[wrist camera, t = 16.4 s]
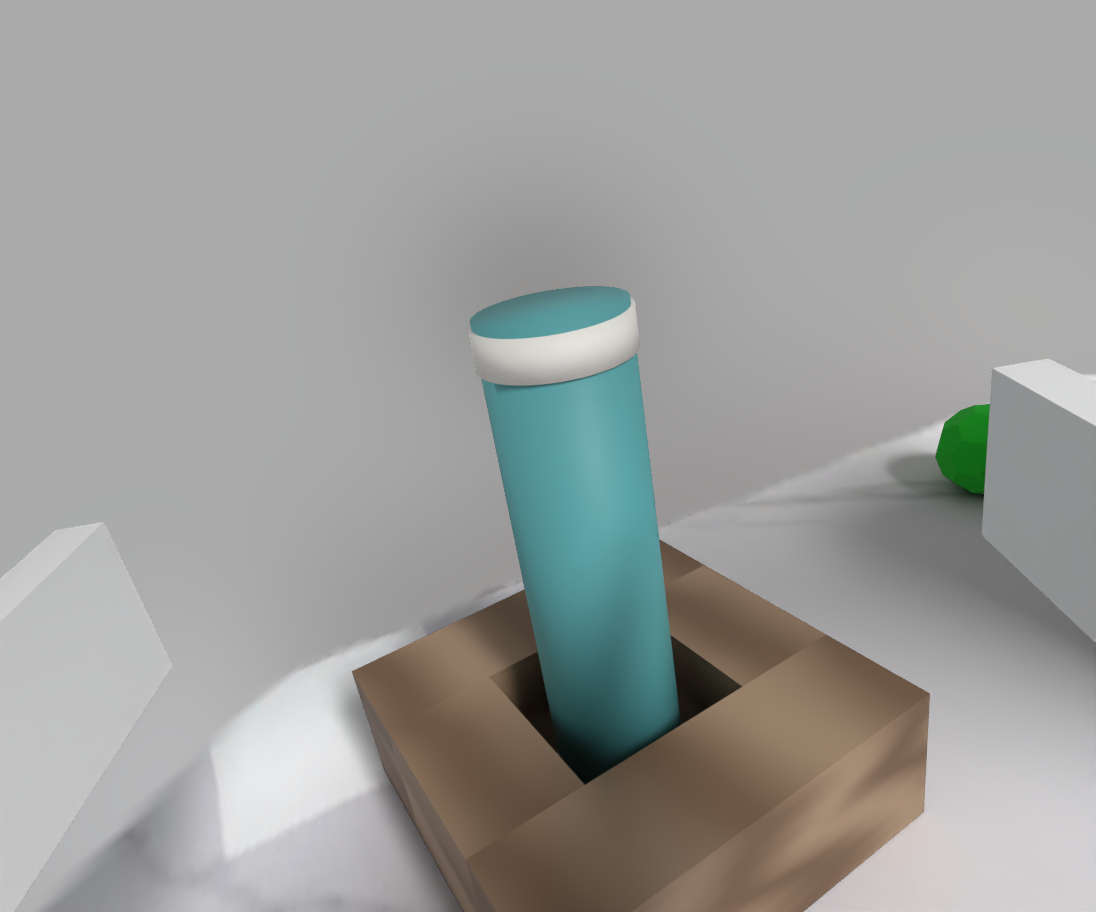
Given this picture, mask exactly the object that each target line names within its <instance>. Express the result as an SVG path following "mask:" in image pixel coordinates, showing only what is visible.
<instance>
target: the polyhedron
mask: <svg viewBox="0 0 1096 912" xmlns="http://www.w3.org/2000/svg"><path fill="white" fill-rule="evenodd" d="M989 412H990V404H986V405H974V406H972V407H969V408H966V409H963V410H960V411H959V412H958V413H956V414H955V415H954V416H953V417H951V418H950V419H949V420H947V421H946V422H945V424H944V427H943V430H942V434H941V437H940V441H939V445H938V448H937V452H936V457H935V458H936V460H937V462H938V465H939V467H940V469H941V471H942V474H943V475H944V476H945V477H947V478H948V479H950V480H951V481H953V482H954V483H956V484H958V485H959V486H961V487H963V488H964V489H966V490H968V491H970V492H971V493H974V494H977V495H979V494H984V489H985V473H986V458H987V443H988V427H989Z"/></svg>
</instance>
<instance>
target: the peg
mask: <svg viewBox="0 0 1096 912" xmlns="http://www.w3.org/2000/svg"><path fill="white" fill-rule="evenodd" d="M468 334H469V339H470V344H471V349H472V354H473V358H474V363H475V368H476V373H477V375H478V376H479V377H480V378H481V379H482V384H483V389H484V393H485V399H486V403H487V408H488V413H489V418H490V423H491V428H492V432H493V437H494V442H495V447H496V452H497V456H498V462H499V466H500V471H501V476H502V481H503V486H504V491H505V495H506V500H507V504H508V509H509V515H510V520H511V524H512V529H513V534H514V539H515V544H516V549H517V553H518V558H519V563H520V568H521V573H522V578H523V583H524V587H525V592H526V597H527V602H528V607H529V612H530V616H531V621H532V626H533V631H534V636H535V641H536V646H537V650H538V655H539V660H540V665H541V670H542V675H543V679H544V684H545V689H546V694H547V699H548V704H549V709H550V713H551V718H552V723H553V728H554V733H555V738H556V742H557V747H558V752H559V756H560V757H561V758H562V760H563V761H564V762H565V763H566V764H567V765H568V766H569V768H570V769H571V770H572V771H573V772H574V773H575V774H576V775H577V777H578V778H579V779H580V780H581V781H582V782H583V783H584V784H585V785H586V784H587V783H589V782H590V781H592V780H594V779H595V778H597V777H599V776H600V775H602V774H603V773H605V772H607V771H608V770H610V769H611V768H613V767H615V766H616V765H618V764H619V763H621V762H623V761H624V760H626V759H627V758H629V757H631V756H632V755H634V754H635V753H637V752H639V751H640V750H642V749H643V748H645V747H647V746H648V745H650V744H651V743H653V742H655V741H656V740H658V739H659V738H661V737H663V736H664V735H666V734H667V733H669V732H671V731H672V730H674V729H675V728H677V727H679V726H680V725H681V720H680V711H679V703H678V695H677V686H676V678H675V669H674V661H673V652H672V644H671V635H670V627H669V619H668V610H667V602H666V593H665V585H664V576H663V568H662V560H661V551H660V543H659V534H658V526H657V517H656V509H655V500H654V492H653V484H652V475H651V467H650V458H649V450H648V442H647V433H646V424H645V416H644V408H643V399H642V391H641V382H640V375H639V365H638V357H637V352H638V350H639V348H640V342H639V334H638V325H637V317H636V308H635V302H634V300H633V299H632V298H631V297H630V294H629V293H628V292H627V291H625V290H623V289H619V288H614V287H602V286H589V287H573V288H564V289H556V290H549V291H543V292H538V293H533V294H529V295H524V296H520V297H516V298H513V299H509V300H506V301H503V302H500V303H497V304H494V305H492V306H489V307H487V308H485V309H483V310H481V311H479V312H478V313H476V314H475V315H474V316H473V317H472V318H471V319H470V325H469V327H468Z"/></svg>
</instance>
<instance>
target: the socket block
mask: <svg viewBox="0 0 1096 912" xmlns="http://www.w3.org/2000/svg"><path fill="white" fill-rule="evenodd" d="M659 543H660V551H661V560H662V568H663V576H664V585H665V593H666V602H667V610H668V619H669V627H670V635H671V644H672V652H673V661H674V669H675V678H676V686H677V695H678V703H679V711H680V720H681V725H680V726H679V727H677V728H675V729H674V730H672V731H671V732H669V733H667V734H666V735H664V736H663V737H661V738H659V739H658V740H656V741H655V742H653V743H651V744H650V745H648V746H647V747H645V748H643V749H642V750H640V751H639V752H637V753H635V754H634V755H632V756H631V757H629V758H627V759H626V760H624V761H623V762H621V763H619V764H618V765H616V766H615V767H613V768H611V769H610V770H608V771H607V772H605V773H603V774H602V775H600V776H599V777H597V778H595V779H594V780H592V781H590V782H589V783H587V784H586V785H585V784H584V783H583V782H582V781H581V780H580V779H579V778H578V777H577V775H576V774H575V773H574V772H573V771H572V770H571V769H570V768H569V766H568V765H567V764H566V763H565V762H564V761H563V760H562V758H561V757H560V756H559V755H558V753H559V752H558V747H557V742H556V738H555V733H554V728H553V723H552V718H551V713H550V709H549V704H548V699H547V694H546V689H545V684H544V679H543V675H542V670H541V665H540V660H539V655H538V650H537V646H536V641H535V636H534V631H533V626H532V621H531V616H530V612H529V607H528V602H527V597H526V592H525V589H524V590H522V591H520V592H518V593H516V594H514V595H512V596H510V597H508V598H506V599H503V600H501V601H499V602H497V603H495V604H493V605H491V606H489V607H487V608H484V609H482V610H480V611H478V612H476V613H474V614H472V615H470V616H468V617H465V618H463V619H461V620H459V621H457V622H455V623H453V624H451V625H449V626H447V627H444V628H442V629H440V630H438V631H436V632H434V633H432V634H430V635H428V636H425V637H423V638H421V639H419V640H417V641H415V642H413V643H411V644H409V645H406V646H404V647H402V648H400V649H398V650H396V651H394V652H392V653H390V654H388V655H385V656H383V657H381V658H379V659H377V660H375V661H373V662H371V663H369V664H366V665H364V666H362V667H360V668H358V669H356V670H354V671H352V673H353V676H354V679H355V682H356V685H357V688H358V691H359V695H360V698H361V701H362V704H363V707H364V710H365V713H366V716H367V719H368V722H369V725H370V728H371V731H372V734H373V737H374V740H375V743H376V746H377V749H378V752H379V755H380V758H381V761H382V764H383V767H384V770H385V772H386V773H387V775H388V777H389V779H390V781H391V782H392V784H393V786H394V788H395V790H396V791H397V793H398V795H399V797H400V799H401V800H402V802H403V804H404V806H405V808H406V809H407V811H408V813H409V815H410V817H411V818H412V820H413V822H414V824H415V826H416V827H417V829H418V831H419V833H420V835H421V836H422V838H423V840H424V842H425V844H426V845H427V847H428V849H429V851H430V853H431V854H432V856H433V858H434V860H435V862H436V863H437V865H438V867H439V869H440V871H441V872H442V874H443V876H444V878H445V880H446V881H447V883H448V885H449V887H450V889H451V890H452V892H453V894H454V896H455V898H456V899H457V901H458V903H459V905H460V907H461V908H462V910H463V912H803V911H805V910H806V909H807V908H808V907H809V906H811V905H812V904H813V903H814V902H815V901H817V900H818V899H819V898H820V897H821V896H823V895H824V894H825V893H826V892H828V891H829V890H830V889H831V888H832V887H834V886H835V885H836V884H837V883H838V882H840V881H841V880H842V879H843V878H844V877H846V876H847V875H848V874H849V873H850V872H852V871H853V870H854V869H855V868H857V867H858V866H859V865H860V864H861V863H863V862H864V861H865V860H866V859H867V858H869V857H870V856H871V855H872V854H873V853H875V852H876V851H877V850H878V849H879V848H881V847H882V846H883V845H884V844H885V843H887V842H888V841H889V840H890V839H892V838H893V837H894V836H895V835H896V834H898V833H899V832H900V831H901V830H902V829H904V828H905V827H906V826H907V825H908V824H910V823H911V822H912V821H913V820H914V819H916V818H917V817H918V816H919V815H920V814H922V813H923V812H924V796H925V777H926V757H927V738H928V719H929V699H930V694H929V693H928V692H926V691H924V690H922V689H921V688H919V687H917V686H915V685H913V684H912V683H910V682H908V681H906V680H905V679H903V678H901V677H899V676H898V675H896V674H894V673H892V672H891V671H889V670H887V669H885V668H884V667H882V666H880V665H878V664H877V663H875V662H873V661H871V660H870V659H868V658H866V657H864V656H863V655H861V654H859V653H857V652H856V651H854V650H852V649H850V648H849V647H847V646H845V645H843V644H842V643H840V642H838V641H836V640H835V639H833V638H831V637H829V636H828V635H826V634H824V633H822V632H821V631H819V630H817V629H815V628H814V627H812V626H810V625H808V624H807V623H805V622H803V621H801V620H800V619H798V618H796V617H794V616H793V615H791V614H789V613H787V612H786V611H784V610H782V609H780V608H779V607H777V606H775V605H773V604H772V603H770V602H768V601H766V600H764V599H763V598H761V597H759V596H757V595H756V594H754V593H752V592H750V591H749V590H747V589H745V588H743V587H742V586H740V585H738V584H736V583H735V582H733V581H731V580H729V579H728V578H726V577H724V576H722V575H721V574H719V573H717V572H715V571H714V570H712V569H710V568H708V567H707V566H705V565H703V564H701V563H700V562H698V561H696V560H694V559H693V558H691V557H689V556H687V555H686V554H684V553H682V552H680V551H679V550H677V549H675V548H673V547H672V546H670V545H668V544H666V543H665V542H663V541H661V540H659Z"/></svg>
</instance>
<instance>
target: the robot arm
mask: <svg viewBox="0 0 1096 912" xmlns="http://www.w3.org/2000/svg"><path fill="white" fill-rule="evenodd" d="M981 535H982V536H983V537H984V538H985V539H986V540H987V541H988V542H989V543H990V544H991V545H992V546H993V547H994V548H995V549H996V550H998V551H999V552H1000V553H1001V554H1002V555H1003V556H1004V557H1005V558H1006V559H1007V560H1008V561H1009V562H1010V563H1011V564H1012V565H1013V566H1014V567H1016V568H1017V569H1018V570H1019V571H1020V572H1021V573H1022V574H1023V575H1024V576H1025V577H1026V578H1027V579H1028V580H1029V581H1030V582H1031V583H1032V584H1034V585H1035V586H1036V587H1037V588H1038V589H1039V590H1040V591H1041V592H1042V593H1043V594H1044V595H1045V596H1046V597H1047V598H1048V599H1049V600H1050V601H1052V602H1053V603H1054V604H1055V605H1056V606H1057V607H1058V608H1059V609H1060V610H1061V611H1062V612H1063V613H1064V614H1065V615H1066V616H1067V617H1068V618H1069V619H1071V620H1072V621H1073V622H1074V623H1075V624H1076V625H1077V626H1078V627H1079V628H1080V629H1081V630H1082V631H1083V632H1084V633H1085V634H1086V635H1087V636H1089V637H1090V638H1091V639H1092V640H1093V641H1094V642H1095V643H1096V381H1094V380H1091V379H1089V378H1087V377H1085V376H1083V375H1081V374H1079V373H1077V372H1075V371H1073V370H1071V369H1069V368H1067V367H1064V366H1062V365H1060V364H1058V363H1056V362H1054V361H1052V360H1050V359H1043V360H1037V361H1031V362H1025V363H1019V364H1013V365H1008V366H1002V367H996V368H993V369H992V382H991V397H990V412H989V427H988V443H987V458H986V473H985V489H984V504H983V519H982V534H981ZM172 667H173V664H172V662H171V660H170V658H169V656H168V654H167V652H166V650H165V648H164V646H163V644H162V642H161V640H160V638H159V635H158V633H157V631H156V629H155V627H154V625H153V623H152V621H151V619H150V617H149V615H148V613H147V611H146V608H145V606H144V604H143V602H142V600H141V598H140V596H139V594H138V592H137V590H136V588H135V586H134V584H133V582H132V579H131V577H130V575H129V573H128V571H127V569H126V567H125V565H124V563H123V561H122V559H121V557H120V555H119V553H118V551H117V548H116V546H115V544H114V542H113V540H112V538H111V536H110V534H109V532H108V530H107V528H106V526H105V524H104V522H100V523H94V524H89V525H83V526H78V527H71V528H65V529H60V530H55V531H54V532H53V533H52V534H51V535H49V536H48V537H47V538H46V539H45V540H44V541H43V542H41V543H40V544H39V545H38V546H37V547H36V548H35V549H34V550H32V551H31V552H30V553H29V554H28V555H27V556H26V557H24V558H23V559H22V560H21V561H20V562H19V563H18V564H17V565H15V566H14V567H13V568H12V569H11V570H10V571H9V572H8V573H6V574H5V575H4V576H3V577H2V578H1V579H0V912H15V911H16V909H17V907H18V906H19V904H20V903H21V901H22V900H23V898H24V897H25V895H26V893H27V892H28V890H29V888H30V887H31V886H32V884H33V883H34V881H35V879H36V878H37V876H38V875H39V873H40V872H41V870H42V868H43V867H44V866H45V864H46V862H47V861H48V859H49V858H50V856H51V855H52V853H53V851H54V850H55V848H56V847H57V845H58V844H59V842H60V841H61V839H62V837H63V836H64V834H65V833H66V831H67V830H68V828H69V826H70V825H71V823H72V822H73V820H74V819H75V817H76V816H77V814H78V813H79V811H80V810H81V808H82V806H83V805H84V803H85V802H86V800H87V799H88V797H89V796H90V794H91V793H92V791H93V789H94V788H95V786H96V785H97V783H98V782H99V780H100V779H101V777H102V775H103V774H104V772H105V771H106V769H107V768H108V766H109V764H110V763H111V761H112V760H113V758H114V756H115V755H116V754H117V752H118V751H119V749H120V747H121V746H122V744H123V743H124V741H125V740H126V738H127V737H128V735H129V733H130V732H131V730H132V729H133V727H134V726H135V724H136V723H137V721H138V719H139V718H140V716H141V715H142V713H143V711H144V710H145V709H146V707H147V705H148V704H149V702H150V701H151V699H152V698H153V696H154V695H155V693H156V692H157V690H158V688H159V687H160V685H161V684H162V682H163V681H164V679H165V678H166V676H167V674H168V673H169V671H170V670H171V668H172Z"/></svg>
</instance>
